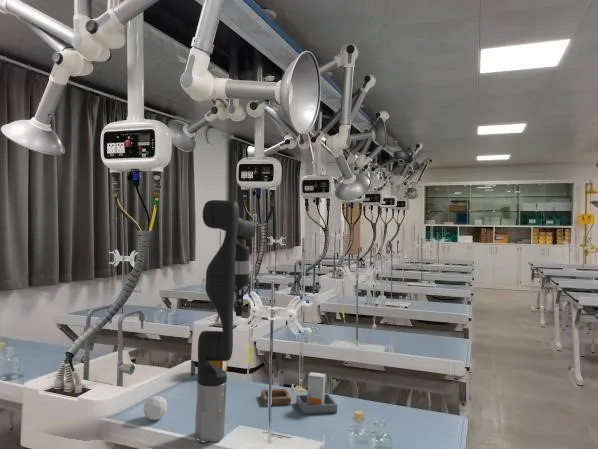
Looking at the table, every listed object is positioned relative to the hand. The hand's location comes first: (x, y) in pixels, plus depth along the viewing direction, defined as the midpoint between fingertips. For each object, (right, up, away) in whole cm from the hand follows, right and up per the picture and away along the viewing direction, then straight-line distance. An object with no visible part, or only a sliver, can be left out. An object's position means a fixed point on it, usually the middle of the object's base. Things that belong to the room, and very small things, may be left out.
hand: (237, 313), depth 174 cm
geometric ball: (-25, -32, -21) cm, 46 cm away
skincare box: (+30, -34, -5) cm, 46 cm away
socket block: (+15, -34, 0) cm, 37 cm away
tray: (+30, -34, -6) cm, 46 cm away
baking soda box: (-13, -33, +30) cm, 46 cm away
